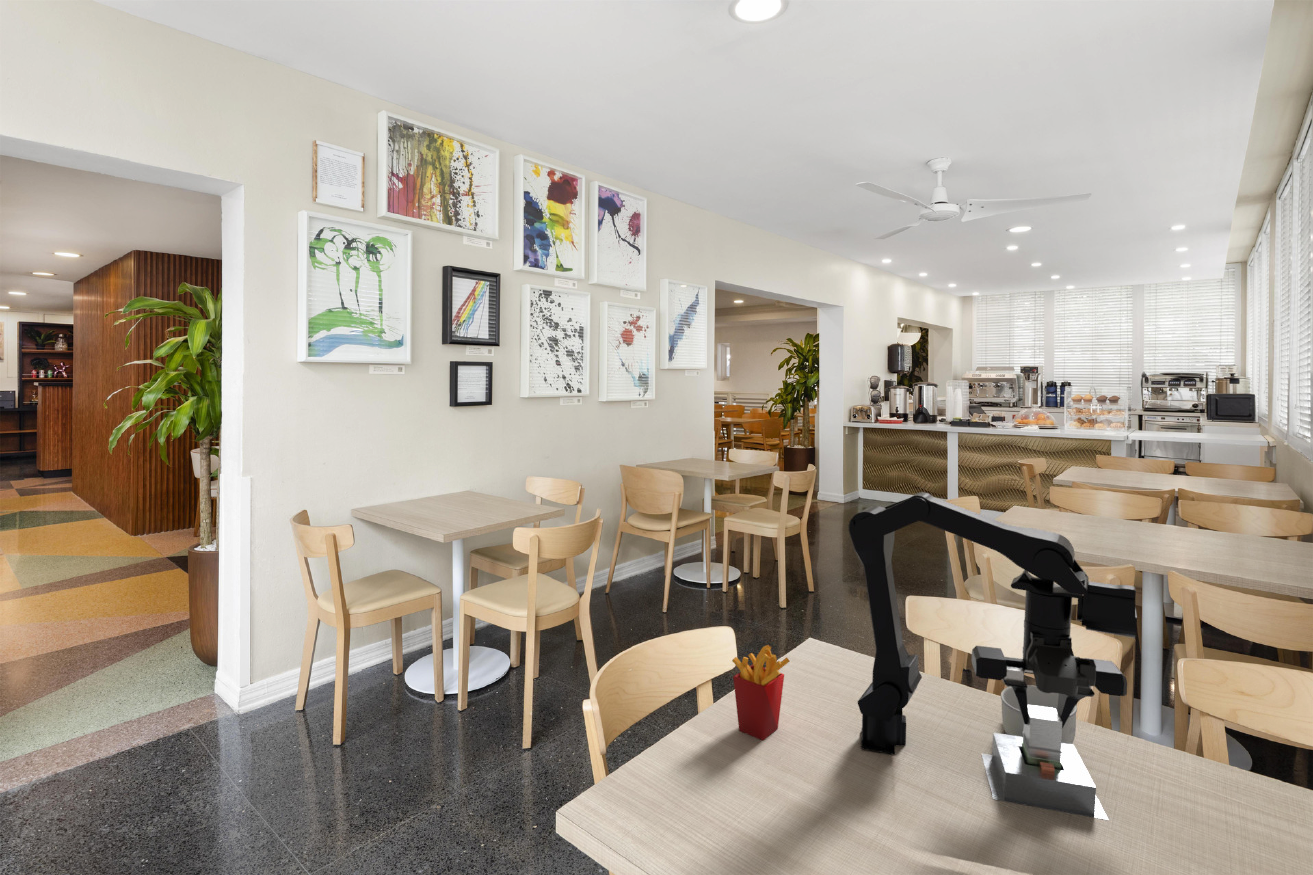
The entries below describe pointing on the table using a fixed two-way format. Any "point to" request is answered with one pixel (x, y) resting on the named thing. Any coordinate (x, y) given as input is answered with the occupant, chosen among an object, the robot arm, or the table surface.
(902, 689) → the robot arm
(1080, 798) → the housing
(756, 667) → the french fries
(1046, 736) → the column
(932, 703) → the table surface
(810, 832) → the table surface
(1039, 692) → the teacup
